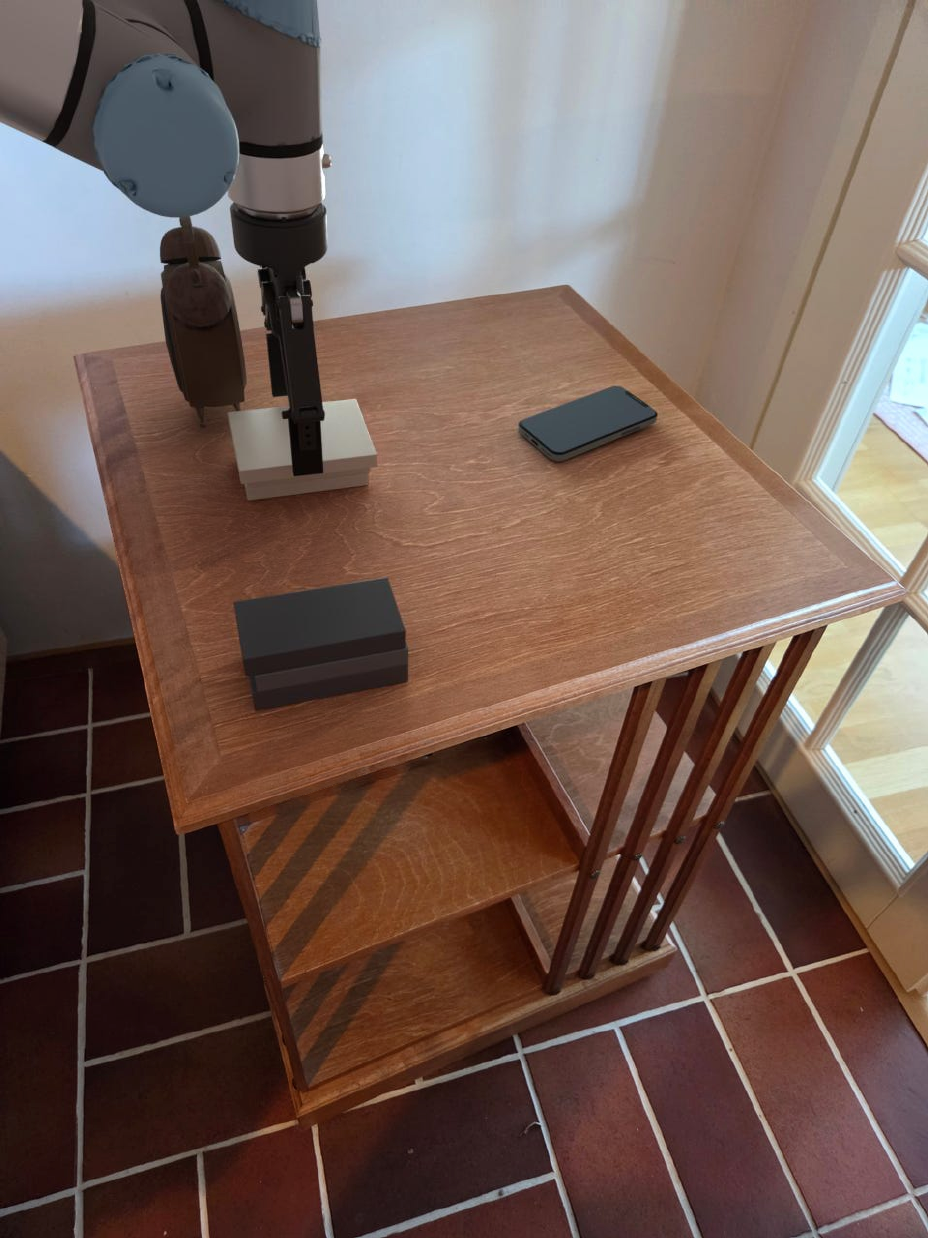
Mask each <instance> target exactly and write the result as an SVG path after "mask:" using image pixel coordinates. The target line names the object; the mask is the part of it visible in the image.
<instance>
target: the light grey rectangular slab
mask: <svg viewBox="0 0 928 1238" xmlns="http://www.w3.org/2000/svg"><path fill="white" fill-rule="evenodd" d="M322 404H323V410H324V411H325V416H324V417H325V419H324V421H321V439H322V458H323V473H320V474H326V473H333V472H341V471H349V470H357V469H365V468H371V469H372V468H378V453H377V450H376V447H375V445H374V442H373V440H372V437H371V435H370V433H369V429H368V427H367V424H366V422H365V419H364V416H363V414H362V412H361V409H360V406H359V403H358V401H357V399H356V398H351V399H344V400H343V399H342V400H332V401H322ZM287 410H289V405H284V406H276V407H275V406H274V407H266V408H257V409H255V408H254V409H247V410H246V409H245V410H240V411H236V410H235V411H228V412H227V420H228V424H229V430H230V434H231V435H230V436H231V440H232V445H233V450H234V455H235V462H236V466H237V471H238V476H239V481H240V484H241V485H245V484H246V483H254V482H262V481H270V480H278V479H286V478H294V477H302V476H294V475H293V471H292V459H291V448H290V436H289V425H288V419H283V418H282V414H281V413H282V411H287ZM311 475H318V474H311ZM303 476H310V475H303Z"/></svg>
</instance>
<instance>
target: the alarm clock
mask: <svg viewBox="0 0 928 1238" xmlns="http://www.w3.org/2000/svg"><path fill="white" fill-rule="evenodd" d="M191 217H192V216H189V217H181V218H179V219H178V220H179V221H178V222H179V226H178V227H174V228H170V229H169V230H168V231H166V232H165V233H164V235H163V236H162V237H161V240H160V244H159V260H160V264H163V270H162V272H161V273H160V280H161V284H162V285H161V286H162V287H161V288H160V289H161V290H160V297H159V298H160V305H161V315H162V323H163V332H164V339H165V345H166V348H167V352H168V356H169V359H170V363H171V367H172V370H173V373H174V377H175V381H176V383H177V384H176V385H177V387H178V389H179V391H180V392H181V393H182V395H183V398H184V401H186V402H187V403H188V404H189V406H190V408H195V411H196V413H197V416H198V419H199V422H200V423H199V426H200V428H203V429H204V428H206V427H207V423H206V420H205V419H206V418H205V408H218V407H219V408H220V407H226V406H231V405H232V406H233V408H234V410H235V412H236V411H241V405H240V403H245V402H246V401H245V398H246V397H245V389H246V386H247V383H248V379H247V369H246V362H245V361H246V360H245V354H244V346H243V342H242V335H241V328H240V322H239V316H238V311H237V306H236V301H235V297H234V291H233V287H232V283H231V280H230V279H229V277H228V275H226V274H225V270H224V267H223V266H224V265H223V263H222V255H221V251H220V248H219V245H218V243H217V241H216V239H215V237H214V236H213V235H212V234H211V233H210V232H209V231H207V230H206V229H204V228H202V227H198V226H193V222H192V218H191Z"/></svg>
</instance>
